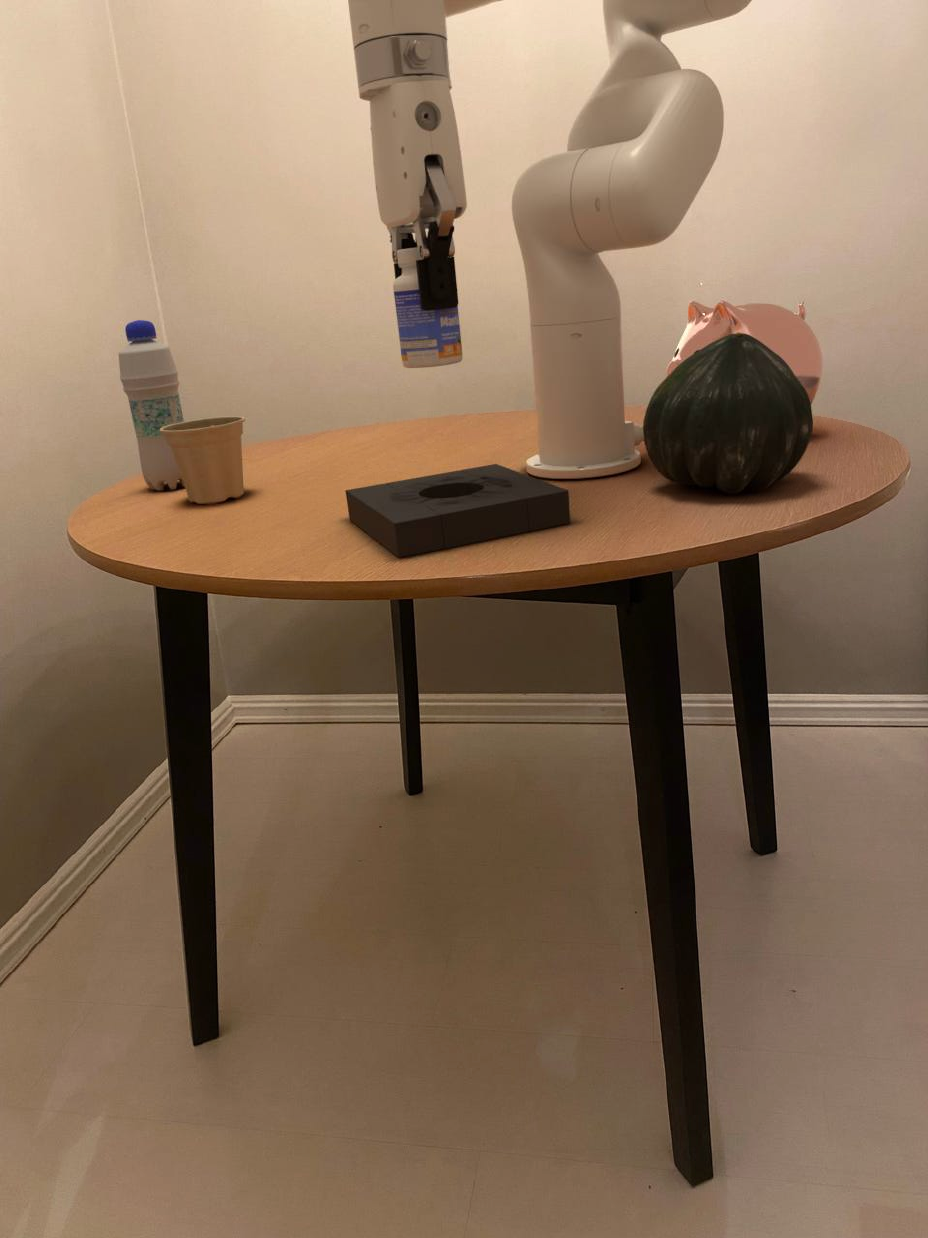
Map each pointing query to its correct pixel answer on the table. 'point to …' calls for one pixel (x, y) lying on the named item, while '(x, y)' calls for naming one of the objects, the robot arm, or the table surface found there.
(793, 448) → the squash
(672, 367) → the piggy bank
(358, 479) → the table surface
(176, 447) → the flower pot
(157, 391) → the bottle
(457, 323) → the pill bottle
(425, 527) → the pad
